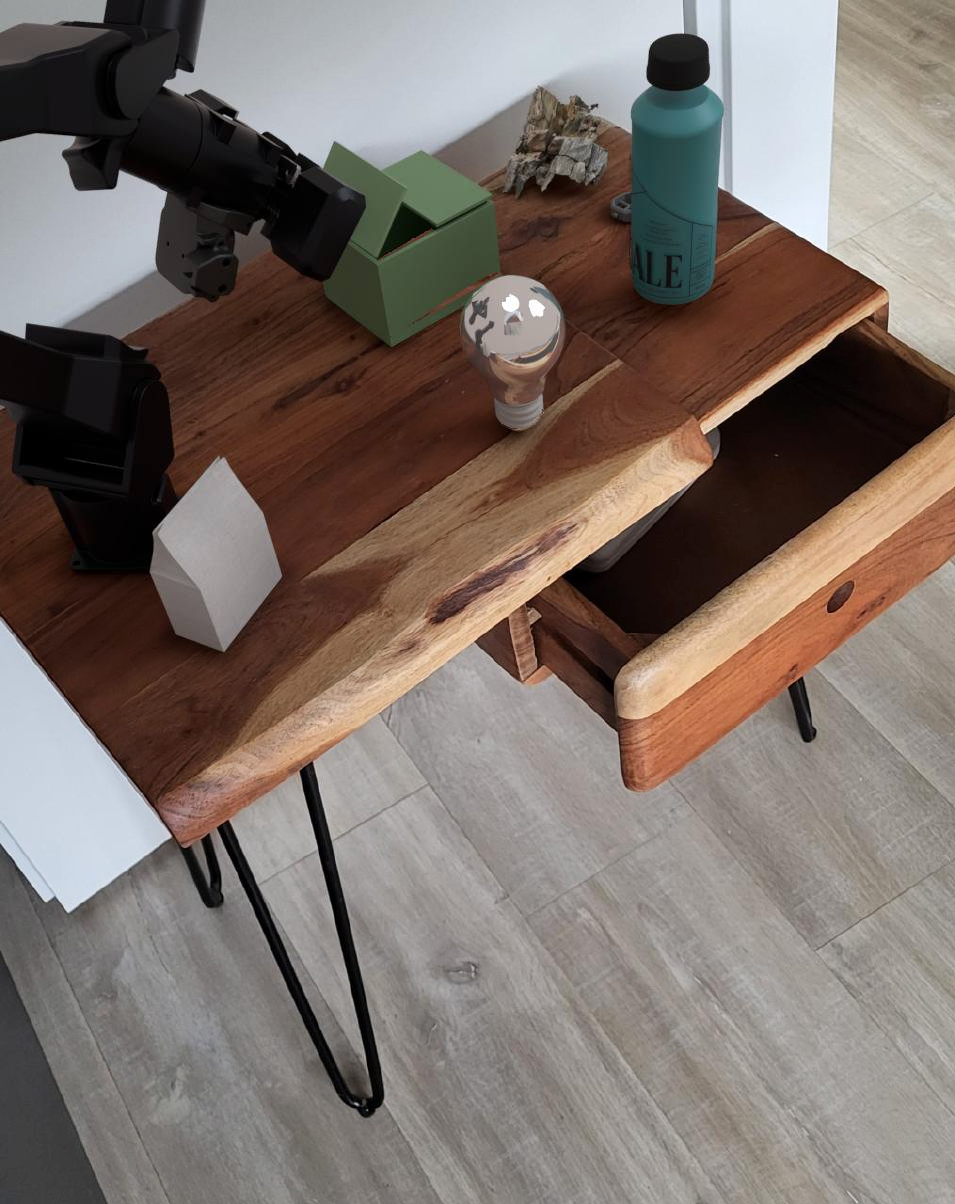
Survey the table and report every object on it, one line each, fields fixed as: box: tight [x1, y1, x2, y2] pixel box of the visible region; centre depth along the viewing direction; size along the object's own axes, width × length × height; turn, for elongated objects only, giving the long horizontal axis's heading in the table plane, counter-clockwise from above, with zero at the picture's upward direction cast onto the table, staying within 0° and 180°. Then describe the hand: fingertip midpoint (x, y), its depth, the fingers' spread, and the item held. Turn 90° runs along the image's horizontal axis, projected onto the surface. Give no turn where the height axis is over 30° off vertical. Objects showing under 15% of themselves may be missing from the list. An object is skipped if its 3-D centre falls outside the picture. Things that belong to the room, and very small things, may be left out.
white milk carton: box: [149, 455, 283, 653], centre depth 80 cm, size 4×7×10 cm, turn 153°
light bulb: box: [459, 273, 567, 432], centre depth 88 cm, size 7×7×12 cm
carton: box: [322, 149, 502, 348], centre depth 101 cm, size 11×9×8 cm
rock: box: [502, 85, 609, 201], centre depth 112 cm, size 8×15×4 cm, turn 165°
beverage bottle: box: [628, 32, 725, 306], centre depth 93 cm, size 6×7×20 cm
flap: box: [322, 140, 408, 257], centre depth 95 cm, size 5×9×1 cm
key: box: [610, 191, 631, 223], centre depth 109 cm, size 12×1×3 cm
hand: (343, 220), depth 95 cm, fingers closed, pressing on flap
